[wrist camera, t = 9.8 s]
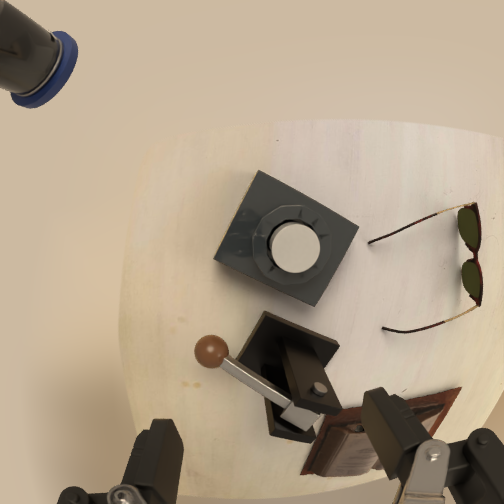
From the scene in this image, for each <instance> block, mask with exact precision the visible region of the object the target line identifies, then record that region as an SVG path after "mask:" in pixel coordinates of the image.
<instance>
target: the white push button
mask: <svg viewBox="0 0 504 504" xmlns="http://www.w3.org/2000/svg"><path fill="white" fill-rule="evenodd" d="M269 247H270V253H271V255H272V257H273V259H274V261H275V263H276V264H277V265H278V266H279V267H280V268H281V269H283V270H284V271H287V272H290V273H299V272H303V271H305V270H307V269H309V268H310V267H311V266H312V265H313V264H314V263H315V262H316V260H317V258H318V256H319V252H320V243H319V239H318V237H317V235H316V234H315V232H314V231H313V230H311V229H310V228H309V227H307V226H305V225H303V224H301V223H297V222H289V223H285V224H283V225H281V226H280V227H278V228H277V229H276V230H275V231H274V233H273V234H272V236H271V239H270V244H269Z"/></svg>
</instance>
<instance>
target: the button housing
mask: <svg viewBox="0 0 504 504" xmlns="http://www.w3.org/2000/svg"><path fill="white" fill-rule="evenodd" d="M289 222H297V223H301V224H303V225H305V226H307V227H309V228H310V229H311V230H313V231H314V232H315V234H316V235H317V237H318V239H319V243H320V252H319V256H318V258H317V260H316V262H315V263H314V264H313V265H312V266H311V267H310V268H309V269H307V270H305V271H303V272H299V273H290V272H287V271H284V270H283V269H281V268H280V267H279V266H278V265H277V264H276V263H275V261H274V259H273V257H272V255H271V253H270V247H269V244H270V239H271V236H272V234H273V233H274V231H275V230H276V229H277V228H278V227H280V226H281V225H283V224H285V223H289ZM358 229H359V226H357V225H356V224H354V223H352V222H351V221H349V220H347V219H346V218H344V217H342V216H341V215H339V214H337V213H336V212H334V211H332V210H331V209H329V208H327V207H326V206H324V205H322V204H320V203H319V202H317V201H315V200H313V199H312V198H310V197H308V196H306V195H305V194H303V193H301V192H299V191H297V190H296V189H294V188H292V187H290V186H288V185H286V184H285V183H283V182H281V181H279V180H277V179H275V178H273V177H271V176H269V175H268V174H266V173H264V172H262V171H260V170H258V171H257V172H256V174H255V175H254V177H253V179H252V181H251V183H250V185H249V187H248V189H247V191H246V193H245V195H244V197H243V198H242V200H241V202H240V204H239V206H238V208H237V210H236V212H235V214H234V216H233V218H232V220H231V222H230V224H229V226H228V228H227V230H226V232H225V234H224V236H223V238H222V240H221V242H220V244H219V246H218V248H217V250H216V252H215V255H214V258H213V259H214V260H216V261H218V262H220V263H222V264H225V265H227V266H229V267H231V268H233V269H235V270H237V271H239V272H241V273H243V274H245V275H247V276H249V277H252V278H254V279H256V280H258V281H260V282H262V283H264V284H266V285H268V286H271V287H273V288H275V289H277V290H279V291H281V292H283V293H286V294H288V295H290V296H292V297H294V298H296V299H299V300H301V301H303V302H305V303H307V304H309V305H312V306H314V307H315V306H316V304H317V303H318V301H319V299H320V297H321V296H322V294H323V292H324V291H325V289H326V287H327V286H328V284H329V282H330V280H331V279H332V277H333V275H334V273H335V271H336V270H337V268H338V266H339V264H340V262H341V261H342V259H343V257H344V255H345V253H346V251H347V250H348V248H349V246H350V244H351V242H352V240H353V238H354V236H355V234H356V232H357V231H358Z"/></svg>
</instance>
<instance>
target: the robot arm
mask: <svg viewBox="0 0 504 504" xmlns="http://www.w3.org/2000/svg"><path fill="white" fill-rule="evenodd" d="M63 53H64V46H63V43H62V41H61V40H60V39H58V38H57V37H55V36H54V35H53V33H52V32H50V33H49V32H48V31H47V30H45V29H44V28H43V27H41V26H40V25H39V24H37V23H36V22H35V21H33V20H32V19H31V18H29V17H28V16H26V15H25V14H23V13H22V12H21V11H19V10H18V9H16V8H15V7H14V6H12V5H11V4H9V3H8V2H7V1H5V0H0V88H2V89H5V90H7V91H10V92H13V93H16V94H17V95H19V96H22V97H29V96H32V95H34V94H36V93H37V92H39V91H40V90H41V89H42V88H44V87H45V86H46V85H47V83H48V82H49V81H50V80H51V79H52V77H53V76H54V74H55V73H56V71H57V69H58V68H59V66H60V63H61V61H62V58H63ZM361 422H362V426H363V428H364V430H365V432H366V434H367V436H368V438H369V440H370V442H371V444H372V446H373V448H374V450H375V452H376V454H377V456H378V458H379V460H380V462H381V464H382V466H383V468H384V470H385V472H386V474H387V476H388V478H389V480H392V479H395V478H397V477H398V478H399V480H400V484H399V487H398V490H397V493H396V495H395V498H394V501H393V503H392V504H445V497H444V496H443V495H442V494H443V489H444V487H448V488H449V490H450V492H451V494H452V496H453V498H454V500H455V502H456V504H504V445H503V444H502V442H501V441H500V440H499V438H498V437H497V436H496V435H495V433H494V432H493V431H491V430H490V429H486V428H479V429H476V430H474V431H473V432H472V433H471V434H470V435H469V437H468V439H466V440H462V441H458V442H454V443H449V444H446V443H445V442H444V441H442V440H438V439H433V438H432V437H431V436H430V434H429V433H428V431H427V430H426V429H425V427H424V426H423V425H422V423H421V422H420V420H419V419H418V418H417V416H416V415H414V412H413V411H412V410H411V409H410V407H409V406H408V404H407V403H406V401H405V400H404V399H402V398H401V397H399V396H397V395H396V394H393V395H391V396H389V395H388V393H387V392H386V391H385V389H384V388H383V387H379V388H376V389H372V390H369V391H366V392H365V393H364V398H363V405H362V411H361ZM133 447H134V448H133V449H132V452H131V456H130V458H129V461H128V464H127V467H126V470H125V473H124V476H123V480H122V482H121V484H120V485H117V486H114V487H113V488H112V489H111V490H110V491H109V492H108V493H95V494H87V493H86V492H85V491H84V490H83V489H82V488H80V487H76V486H73V487H68V488H66V489H65V490H63V491H62V493H61V494H60V497H59V500H58V502H57V504H176V499H177V492H178V485H179V479H180V472H181V466H182V460H183V453H184V447H183V442H182V439H181V437H180V435H179V433H178V431H177V428H176V426H175V424H174V422H173V420H172V419H153V421H152V424H151V427H150V430H143V431H142V432H141V433H140V434H139V435H138V436H137V438H136V441H135V443H134V446H133Z"/></svg>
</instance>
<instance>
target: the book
mask: <svg viewBox="0 0 504 504" xmlns="http://www.w3.org/2000/svg"><path fill="white" fill-rule="evenodd" d="M461 388H462V387H458V388H455V389H450V390H447V391H444V392H441V393H440V392H439V393H437V394H432V395H427V396H424V397H418V398H413V399H408V400H405V401H406V403H407V404H408V406H409V407H410V409H411V410H412V411H413V412H414V415H416V416H417V418H418V419H419V420H420V422H421V423H422V425H423V426H424V427H425V429H426V430H427V431H428V433H429V434H430V436H431V437H432V436H433V434H435V432H436V430H437V429H438V427H439V425H440V424H441V423H442V421H443V419H444V418H445V416H446V415H447V413H448V411H449V409H450V408H451V406H452V404H453V402H454V401H455V399H456V398H457V395H458V394H459V392H460V391H461ZM361 411H362V407H356V408H353V407H352V408H349V409H343V410H342V411H341V412H340V413H339V414H338V415H337V416H331V415H327V416H325V421H324V422H323V426H322V428H321V429H320V430H322V431H320V433H319V436H318V437H317V440H316V442H315V443H314V446H313V448H312V451H311V453H310V455H309V456H308V459H307V462H306V464H305V465H304V468H303V470H302V472H301V474H300V475H307V474H314V473H315V474H316V475H319V476H322V477H341V476H357V475H362V474H364V473H367V472H368V471H369V470H370V469H371V468H372V469H376V470H382V469H384V468H383V466H382V464H381V462H380V460H379V458H378V456H377V454H376V452H375V450H374V448H373V446H372V444H371V442H370V440H369V438H368V436H367V434H366V432H365V430H364V431H363V432H355V429H356V427H357V426H358V425H362V422H361ZM349 428H350V429H349ZM351 429H352V430H351Z"/></svg>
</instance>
